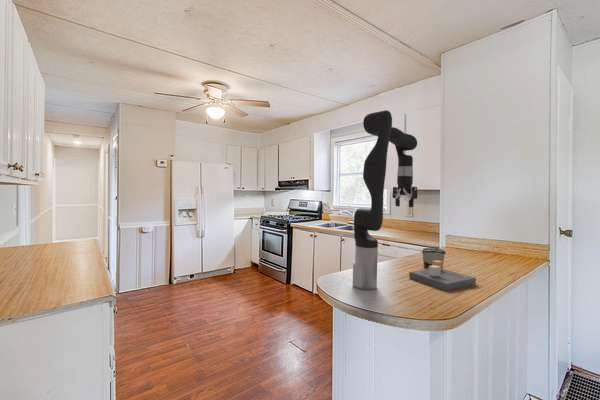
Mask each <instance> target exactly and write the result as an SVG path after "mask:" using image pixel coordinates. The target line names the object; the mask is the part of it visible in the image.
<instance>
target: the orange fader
mask: <svg viewBox="0 0 600 400" xmlns="http://www.w3.org/2000/svg"><path fill="white" fill-rule="evenodd" d="M432 265H436V266H440V267H441V270H443V269H444V262H443V261H439V260H435V261H432Z"/></svg>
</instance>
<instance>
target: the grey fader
mask: <svg viewBox="0 0 600 400" xmlns="http://www.w3.org/2000/svg"><path fill="white" fill-rule="evenodd" d="M428 269H429V275H431V276H434V277H435V276H440V273H441V267H440V266H436V265H432V266H429V268H428Z"/></svg>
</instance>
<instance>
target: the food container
mask: <svg viewBox="0 0 600 400" xmlns="http://www.w3.org/2000/svg"><path fill="white" fill-rule="evenodd" d="M421 254H422V259H423V261H422V262H423V269H429V266H432V261H435V260H439V261H443V263H444V260H445V255H447V253H446V250H445V249H441V248H435V247H434V248H433V247H424V248H422V250H421Z"/></svg>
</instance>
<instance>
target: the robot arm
mask: <svg viewBox="0 0 600 400" xmlns="http://www.w3.org/2000/svg"><path fill="white" fill-rule="evenodd" d="M362 121H363V122H362V123H363V124H362V125H363V129H364V131H365V132H366V133H367V134H369V135H372V136H376V137H377V140H376V142H375V144H374V146H373V147H372V149H371V151H369V153H368V155H367V156H366V159H365V160H364V163H363V170H362V171H363V173H362V179H363V182H364V184H365V186H366V187H367V190H368V193H369V194H370V198H371V199H370V200H371V206H370V208H369V207H368V208H367V207H359V208H357V209H356V211H355V213H354V215H353V216H354V217H353V236H354V237H353V238H354V241H355V246H354V247H355V251H354V254H355V255H354V259H355V260H354V262H353V264H352V286H354V287H355V288H357V289H359V290H361V291H362V290H368V291H369V290H370V291H371V290H375V289H376V288H377V287H378V285H377V284H378V253H379V251H378V250H379V242H378V239H377V238H375V237H374V236H372V235H370V233H369V232H368V231H372V232H376V231H377V232H378V231H380V229H382V225H383V222H384V221H383V220H384V190H385V182H386V173H387V171H386V170H387V160H388V149H389V143H391V144H392V145H394V146H395V150H396V154H397V159H398V162H397V175H396V177H397V178H396V180H397V181H396V185H397V186H393V187H392V194H391V195H392V196H391V197H392V199H394V200H395V207H400V206H401V205H400V203H401V197H403V196H406V197H407V198H408V207H409V208H413V207H414V203H415V200H417V199H418V187H417V186H412V185H413V181H414V180H413V177H414V170H413V166H414V165H413V164H414V163H413V162H414V161H413V160H414V159H413V156H412V155H411V154H405V152H406V151H413V150H415V149H416V148H417V147H418V140H417V138H416V137H415V136H414V135H412V134H409V133H405V132H404V131H402V130H401V129H399V128H397V127H393V117H392V114H391V111H389V110H387V109H386V110H379V111H374V112H371V113H367V114H366V115H365V116H364V118H363V120H362Z"/></svg>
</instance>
